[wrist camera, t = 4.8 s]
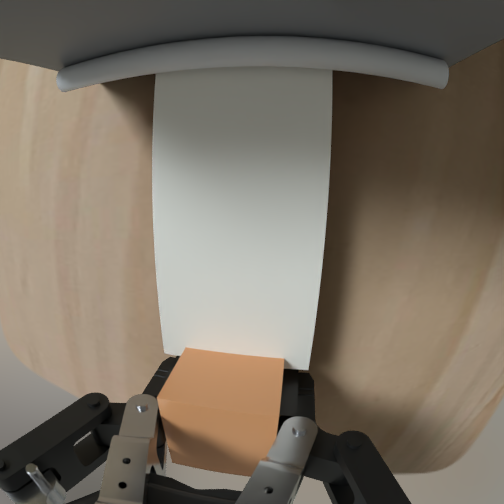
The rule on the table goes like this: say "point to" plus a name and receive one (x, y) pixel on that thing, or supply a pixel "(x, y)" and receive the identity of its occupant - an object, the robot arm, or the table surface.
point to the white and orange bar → (237, 250)
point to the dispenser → (246, 36)
